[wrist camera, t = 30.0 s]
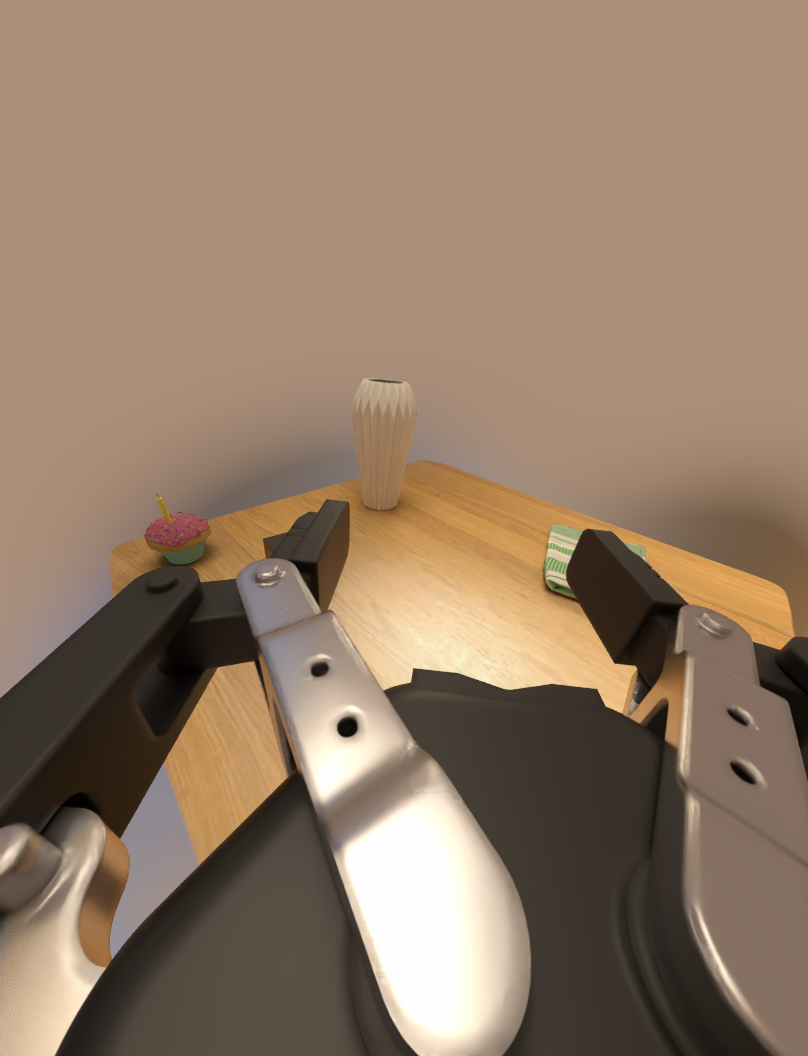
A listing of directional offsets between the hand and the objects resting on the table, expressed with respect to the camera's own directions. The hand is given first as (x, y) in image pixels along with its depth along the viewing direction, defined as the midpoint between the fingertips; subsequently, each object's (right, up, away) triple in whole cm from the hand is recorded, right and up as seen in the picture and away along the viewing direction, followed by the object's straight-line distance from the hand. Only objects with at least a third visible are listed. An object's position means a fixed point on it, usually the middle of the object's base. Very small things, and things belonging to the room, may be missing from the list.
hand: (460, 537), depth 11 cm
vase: (-8, +6, +64) cm, 65 cm away
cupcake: (-38, -4, +41) cm, 56 cm away
